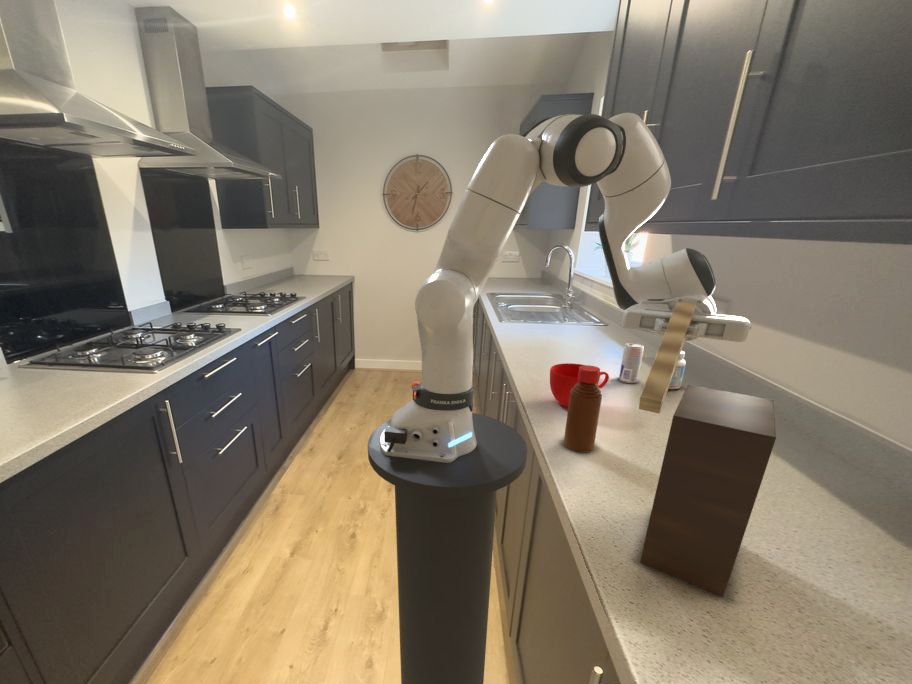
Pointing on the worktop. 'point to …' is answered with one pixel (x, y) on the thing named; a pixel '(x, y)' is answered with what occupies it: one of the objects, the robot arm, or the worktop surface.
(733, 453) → the pedestal
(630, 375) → the energy drink
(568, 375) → the ceramic cup
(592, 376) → the cap
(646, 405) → the bar
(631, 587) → the worktop surface
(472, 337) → the robot arm
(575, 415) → the bottle
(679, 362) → the pill bottle
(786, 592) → the worktop surface
